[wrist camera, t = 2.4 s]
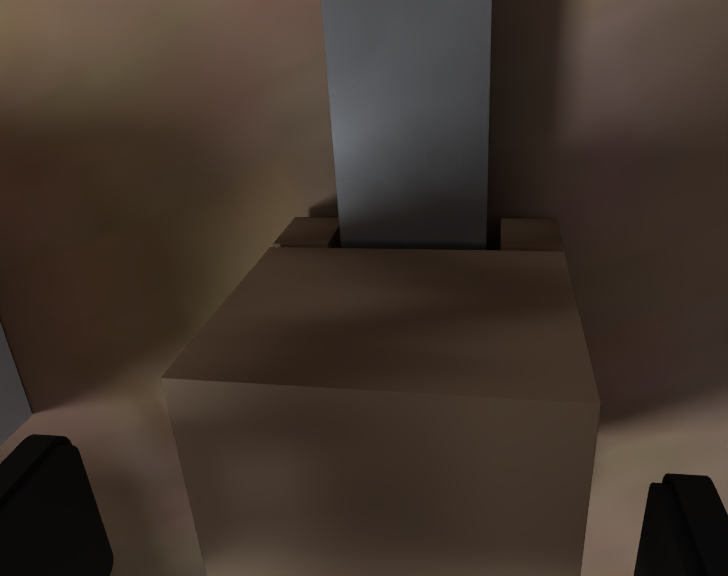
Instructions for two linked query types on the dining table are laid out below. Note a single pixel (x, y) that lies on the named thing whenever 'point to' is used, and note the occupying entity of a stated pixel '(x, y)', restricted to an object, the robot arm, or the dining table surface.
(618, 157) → the dining table surface
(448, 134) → the rail
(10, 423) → the white button housing
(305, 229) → the block
